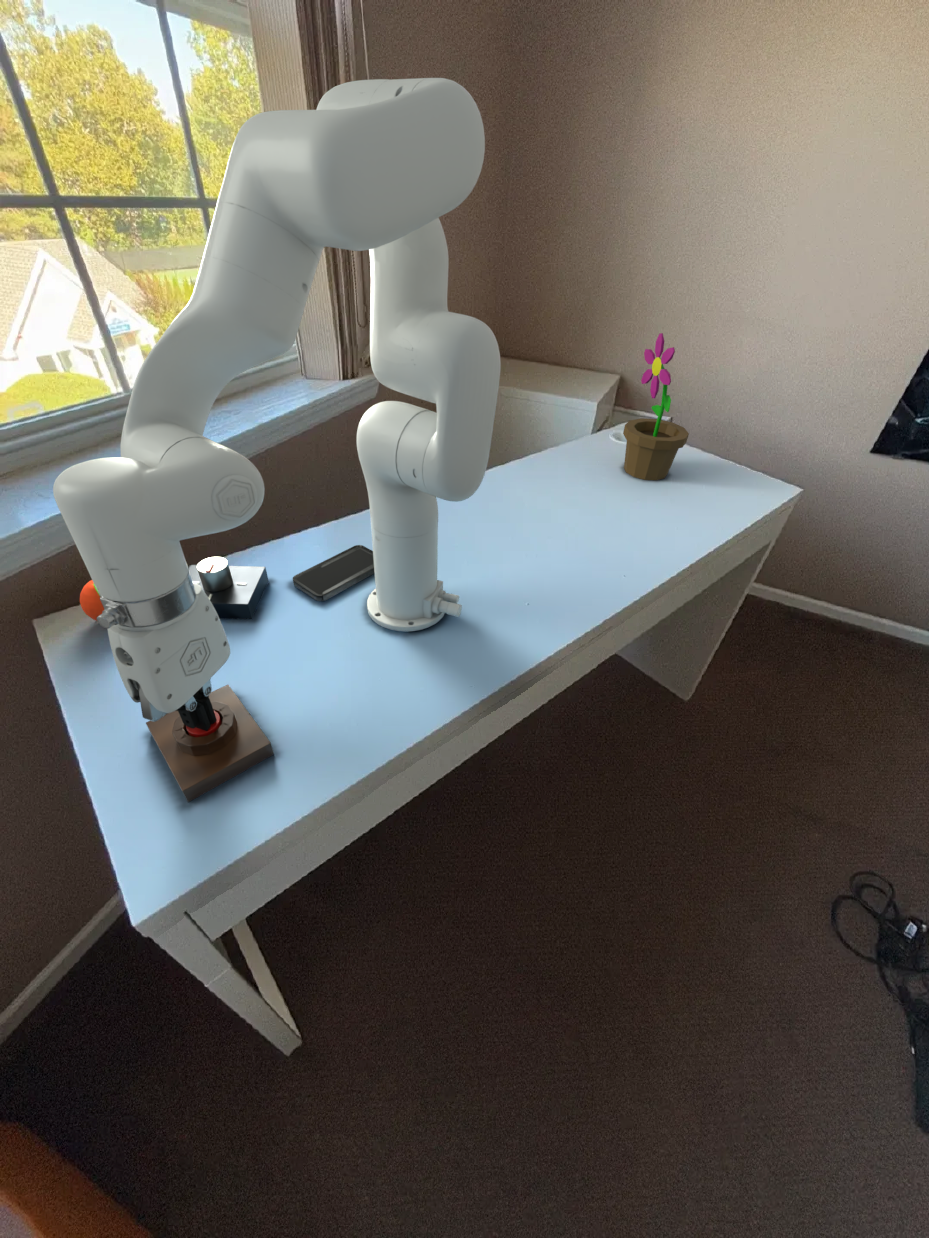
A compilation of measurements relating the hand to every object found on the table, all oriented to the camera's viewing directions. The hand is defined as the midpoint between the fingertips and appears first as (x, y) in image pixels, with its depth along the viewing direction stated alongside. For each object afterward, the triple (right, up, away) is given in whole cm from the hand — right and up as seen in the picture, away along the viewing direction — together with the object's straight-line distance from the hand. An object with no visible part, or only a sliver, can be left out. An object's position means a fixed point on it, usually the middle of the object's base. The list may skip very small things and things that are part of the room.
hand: (201, 722), depth 62 cm
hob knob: (-8, +17, +22) cm, 30 cm away
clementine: (-22, +12, +20) cm, 32 cm away
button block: (0, -3, +3) cm, 4 cm away
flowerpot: (+74, +47, +69) cm, 112 cm away
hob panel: (-8, +15, +24) cm, 30 cm away
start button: (0, -1, +1) cm, 2 cm away
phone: (+9, +19, +31) cm, 38 cm away
